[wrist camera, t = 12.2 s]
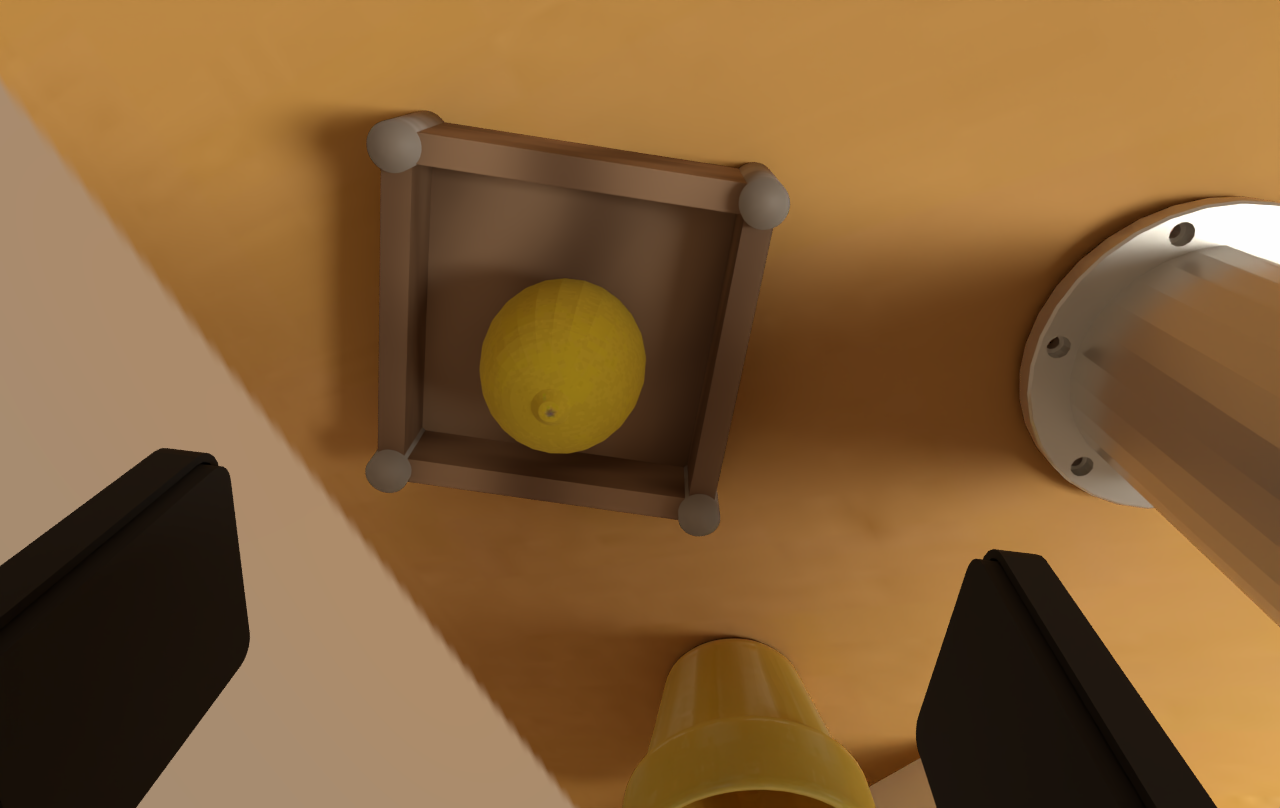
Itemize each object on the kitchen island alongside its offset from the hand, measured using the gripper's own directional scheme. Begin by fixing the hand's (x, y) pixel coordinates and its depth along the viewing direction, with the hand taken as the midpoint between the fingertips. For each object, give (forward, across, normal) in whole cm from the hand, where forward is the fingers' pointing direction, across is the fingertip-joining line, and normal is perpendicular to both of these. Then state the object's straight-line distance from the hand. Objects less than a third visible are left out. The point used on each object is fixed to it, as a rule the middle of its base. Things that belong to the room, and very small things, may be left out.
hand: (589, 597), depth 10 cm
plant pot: (+22, -6, +22) cm, 32 cm away
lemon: (+21, +3, +4) cm, 21 cm away
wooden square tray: (+22, +3, +4) cm, 22 cm away
